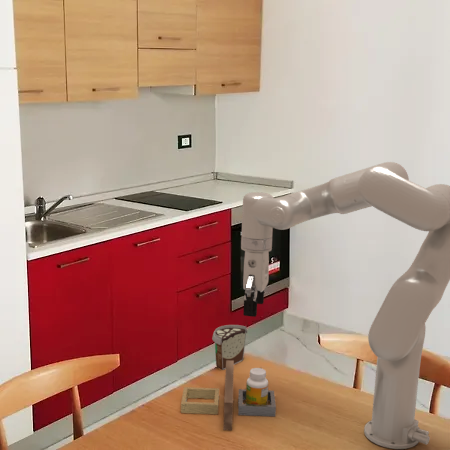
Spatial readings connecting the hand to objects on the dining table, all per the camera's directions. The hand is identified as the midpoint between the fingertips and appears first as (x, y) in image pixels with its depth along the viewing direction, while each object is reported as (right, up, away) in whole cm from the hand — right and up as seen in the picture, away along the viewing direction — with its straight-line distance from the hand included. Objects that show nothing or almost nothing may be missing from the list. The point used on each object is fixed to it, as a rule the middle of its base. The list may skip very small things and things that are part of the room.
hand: (253, 309), depth 177 cm
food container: (-7, -18, +26) cm, 32 cm away
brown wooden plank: (-6, -24, -1) cm, 25 cm away
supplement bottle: (+1, -25, -1) cm, 25 cm away
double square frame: (-6, -24, -1) cm, 25 cm away
